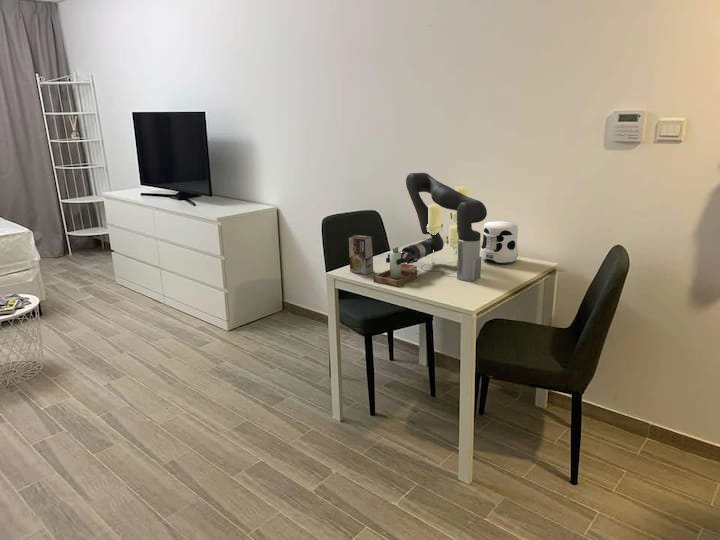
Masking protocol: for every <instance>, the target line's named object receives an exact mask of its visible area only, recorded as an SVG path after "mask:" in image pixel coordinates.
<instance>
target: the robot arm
mask: <svg viewBox="0 0 720 540" xmlns="http://www.w3.org/2000/svg"><path fill="white" fill-rule="evenodd" d="M405 185H406V190H407V193H408V194H409V197H410V199H411V202H412V204H413V207H414V209H415V212H416V215H417V218H418V223H419V227H420V230H421V233H422V235H430V238H428V239H424V240H422V241H419V242H417V243H412V244H409V245H407V246H405V247H403V248H402V249H401V251H400V252H401V258H400V259H397V260H396V264H397V265H399V264H402V263H403V264H404V263H406V264H414V263H417V262H419V261H420V260H422V259H423V258H425V257H427V256H429V255H431V254H435V253H437V252H440V251H443V249H444V246H445V244H444V240H443V238H442V236H441V233H440V232H439V231H438V233H437V234H436V235H432V234H430V233H429V232H427V230H426V226H427V224H428V208H429V207H428V206H427V204H426V203H425V202H424V200H423V199H422V197H421V195H420V193H428V194H430V195H431V200H432V201H433V202H434V203H435V204H437V205H438V206H440V207H442V208H444V209H446V210H450V211H451V210H452V211H455V212H456V232H457V236H458V238H457V239H458V240H457V263H456V264H457V265H456V266H457V267H456V279H458V280H460V281H465V282H476V281H477V280H479V279H481V274H482V273H481V272H482V258H481V238H482V237H481V232H480V231H478V230H474V229H473V224H477V223H481V222H483V221H484V220H485V219H486V217H487V215H488V212H487V211H488V210H487V208H486V205H485V204H484V203H483V202H482V201H481V200H478V199H475V198H471V197H470V196H467V195H465V194H463V193H461V192H459V191H457V190H455V189H454V188H452V187H450V186H448V185H446V184H444V183H443V182H440V181H439V180H437V179H435V178H434V177H433V176H431V175H430V174H428V173H427V172H412V173H411V172H410V173H408V174H407V176H406V178H405ZM433 250H434V253H433ZM385 263H386V264H390V252H389V253H388V254H387V257H386V258H385Z"/></svg>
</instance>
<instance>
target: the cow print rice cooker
mask: <svg viewBox="0 0 720 540" xmlns="http://www.w3.org/2000/svg"><path fill="white" fill-rule="evenodd" d="M518 226H519V225H518V224H517V223H516V222H515V223H514V222H511V221H500V220H499V221H488V222H485V223H484V224H483V233H482V236H483V237H482V244H481V246H480V256H481V260H483V261H484V262H486V263H489V264H494V265H507V264H512V263H515V262H516V261H517V260H518V256H519V249H518V248H519V247H518V231H519V227H518Z"/></svg>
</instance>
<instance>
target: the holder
mask: <svg viewBox="0 0 720 540" xmlns="http://www.w3.org/2000/svg"><path fill="white" fill-rule="evenodd" d="M401 270H405V271H411V272H417V270H418V265H416V264H412V263H410V264H407V263H404V264H403V263H402V264H401Z"/></svg>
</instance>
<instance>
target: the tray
mask: <svg viewBox="0 0 720 540" xmlns="http://www.w3.org/2000/svg"><path fill="white" fill-rule="evenodd" d="M416 279H418V272H417V271H414V272H411V271H405V270H401V278H398V279H393V278H390V269H388V270H385V271H383V272H380V273H377V274H375V275H373V282H374V283H377V282H378V284H382V285H387V286H392V287H397V288H399V287H402V286H404V285H405V284H408V283H410V282H412V281H414V280H416Z"/></svg>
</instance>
